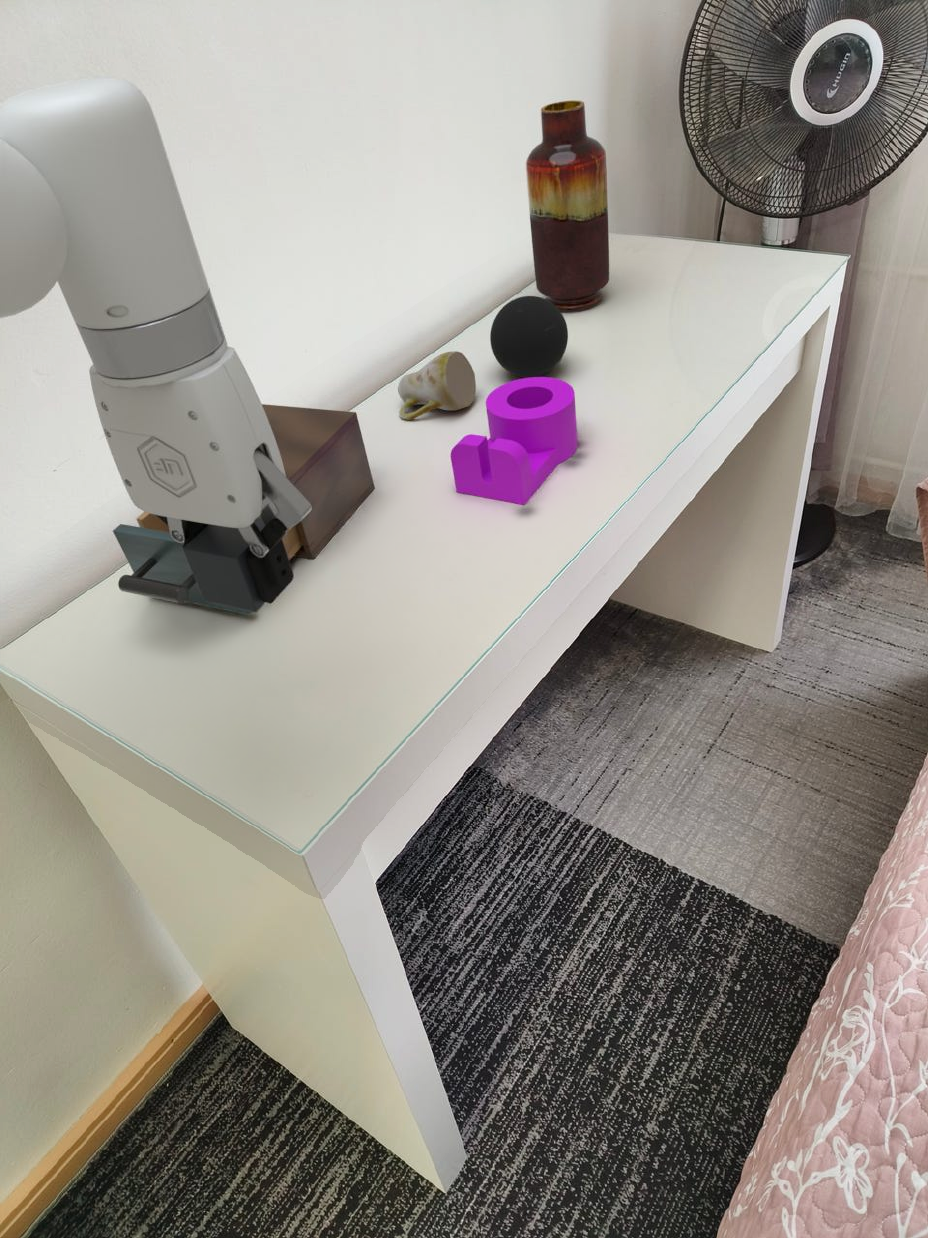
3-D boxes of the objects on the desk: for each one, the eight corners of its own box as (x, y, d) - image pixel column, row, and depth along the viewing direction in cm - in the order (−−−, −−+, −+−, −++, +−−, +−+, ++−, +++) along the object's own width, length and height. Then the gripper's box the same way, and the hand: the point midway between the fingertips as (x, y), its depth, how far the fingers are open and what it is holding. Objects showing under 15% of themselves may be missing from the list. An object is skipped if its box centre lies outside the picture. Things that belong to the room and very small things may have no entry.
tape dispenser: (516, 420, 103) (510, 372, 99) (591, 431, 99) (588, 381, 95) (450, 490, 94) (441, 440, 90) (530, 506, 89) (525, 454, 85)
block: (256, 612, 58) (236, 558, 55) (204, 601, 60) (181, 548, 57) (293, 572, 61) (275, 519, 58) (242, 562, 63) (222, 511, 60)
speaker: (504, 357, 118) (496, 284, 111) (576, 355, 115) (572, 281, 108) (486, 391, 111) (476, 316, 104) (562, 390, 108) (556, 313, 101)
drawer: (223, 646, 78) (193, 580, 73) (114, 621, 83) (80, 558, 78) (317, 538, 89) (297, 475, 84) (216, 523, 94) (192, 462, 89)
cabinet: (313, 559, 88) (287, 480, 81) (202, 540, 93) (170, 465, 87) (375, 488, 96) (356, 411, 90) (270, 475, 102) (246, 402, 96)
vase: (542, 288, 134) (527, 101, 117) (612, 284, 132) (607, 91, 115) (532, 317, 127) (514, 120, 110) (607, 313, 124) (601, 110, 107)
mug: (409, 391, 114) (436, 325, 108) (466, 432, 112) (496, 366, 106) (378, 404, 108) (404, 335, 102) (437, 447, 107) (467, 379, 100)
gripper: (2, 355, 49) (123, 597, 61) (234, 374, 43) (320, 641, 54) (92, 305, 54) (188, 537, 66) (312, 315, 48) (376, 572, 59)
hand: (247, 582), depth 60 cm, fingers closed on block, 4 cm apart
